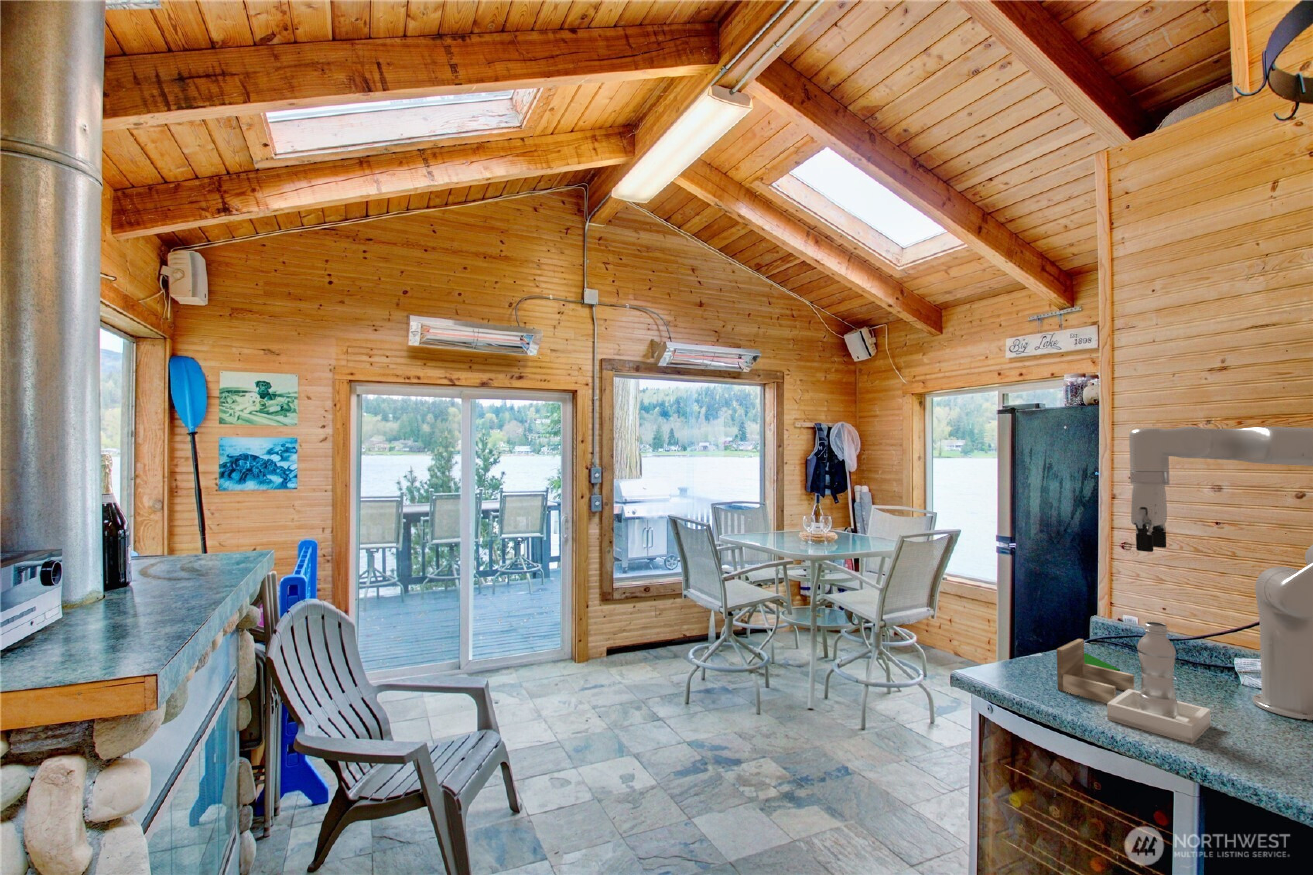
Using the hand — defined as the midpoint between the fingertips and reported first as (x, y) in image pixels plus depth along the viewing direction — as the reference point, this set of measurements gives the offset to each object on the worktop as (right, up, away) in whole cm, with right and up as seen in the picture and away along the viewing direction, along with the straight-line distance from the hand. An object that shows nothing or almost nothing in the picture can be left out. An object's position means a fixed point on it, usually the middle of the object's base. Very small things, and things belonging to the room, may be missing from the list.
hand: (1151, 549), depth 152 cm
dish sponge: (-4, -35, +16) cm, 39 cm away
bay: (-13, -34, -1) cm, 37 cm away
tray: (-13, -34, -18) cm, 41 cm away
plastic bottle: (-13, -33, -18) cm, 40 cm away
